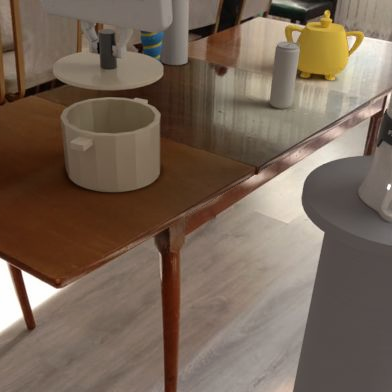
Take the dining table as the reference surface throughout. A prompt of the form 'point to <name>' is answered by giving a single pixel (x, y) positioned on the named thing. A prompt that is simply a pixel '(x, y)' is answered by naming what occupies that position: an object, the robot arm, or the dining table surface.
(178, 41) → the bottle
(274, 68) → the beverage can
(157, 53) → the ornament
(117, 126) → the pot
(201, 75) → the dining table surface
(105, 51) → the lid
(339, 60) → the yellow sugar bowl
